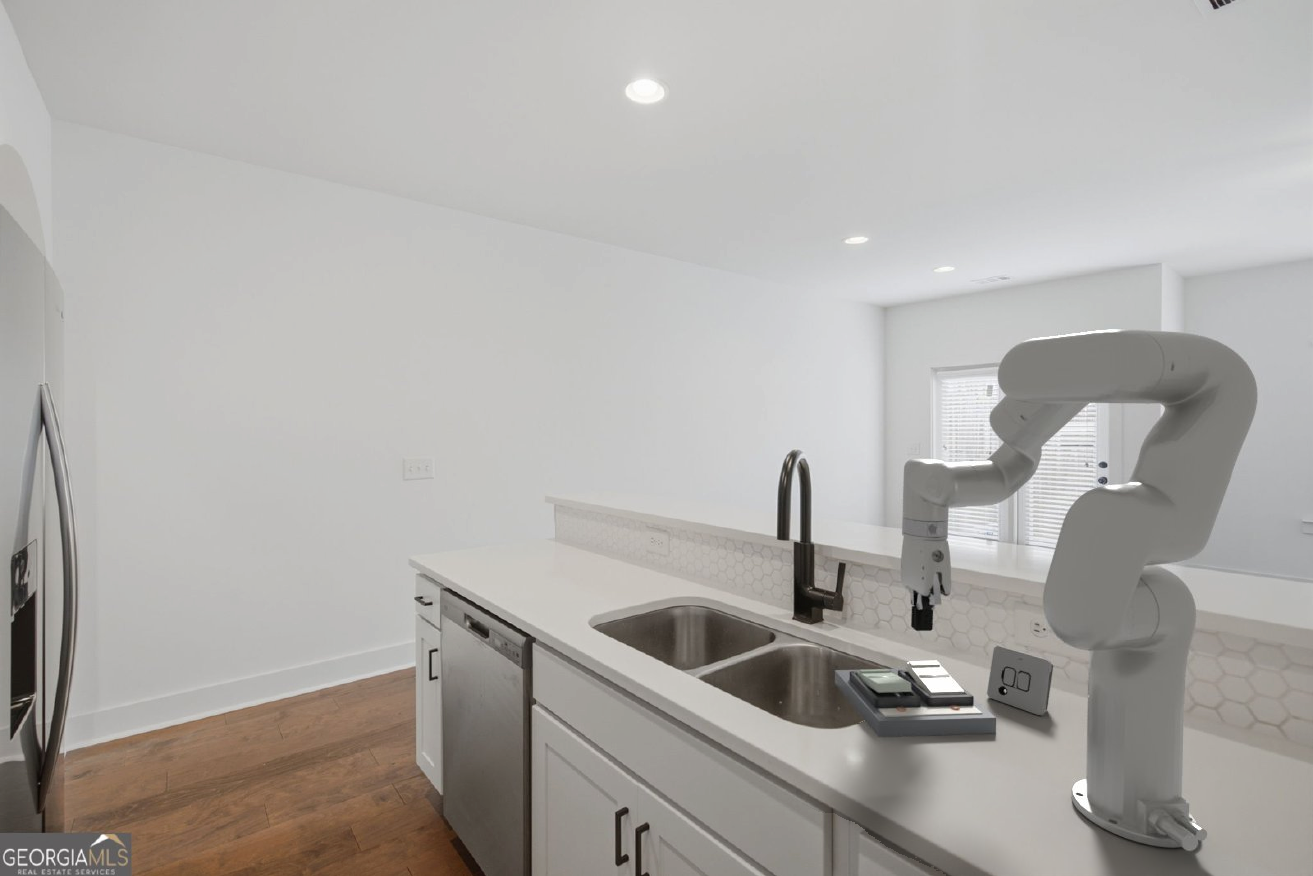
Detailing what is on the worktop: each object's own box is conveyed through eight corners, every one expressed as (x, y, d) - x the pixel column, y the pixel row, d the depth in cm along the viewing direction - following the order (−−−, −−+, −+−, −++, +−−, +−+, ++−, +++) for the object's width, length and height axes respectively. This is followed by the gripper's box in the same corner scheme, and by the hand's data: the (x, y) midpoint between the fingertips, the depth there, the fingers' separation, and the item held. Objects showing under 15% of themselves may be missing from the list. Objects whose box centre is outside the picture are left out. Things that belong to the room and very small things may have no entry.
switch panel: (996, 733, 99) (996, 708, 99) (879, 737, 98) (879, 711, 98) (932, 680, 119) (932, 660, 119) (834, 683, 118) (834, 662, 118)
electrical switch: (985, 698, 112) (989, 645, 112) (1000, 693, 115) (1003, 642, 115) (1042, 718, 104) (1045, 662, 104) (1056, 713, 107) (1059, 658, 107)
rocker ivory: (962, 699, 105) (964, 689, 104) (930, 700, 104) (931, 690, 104) (936, 669, 113) (937, 659, 113) (906, 670, 113) (907, 660, 113)
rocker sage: (911, 692, 104) (910, 680, 104) (878, 693, 103) (877, 681, 104) (888, 680, 113) (887, 668, 113) (858, 680, 112) (857, 669, 112)
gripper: (968, 537, 104) (964, 644, 105) (924, 520, 119) (921, 615, 120) (924, 537, 104) (921, 645, 105) (886, 520, 119) (883, 615, 120)
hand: (921, 629), depth 113 cm, fingers closed
